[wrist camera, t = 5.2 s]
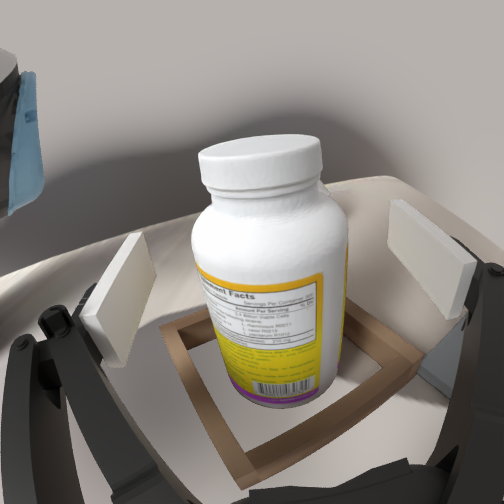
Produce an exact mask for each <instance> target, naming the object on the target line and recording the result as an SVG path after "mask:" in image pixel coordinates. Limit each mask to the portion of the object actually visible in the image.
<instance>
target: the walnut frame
mask: <svg viewBox="0 0 504 504" xmlns="http://www.w3.org/2000/svg"><path fill="white" fill-rule="evenodd" d="M159 328H160V330H161V333H162V335H163V338H164V340H165V343H166V345H167V348H168V350H169V352H170V355H171V357H172V360H173V362H174V364H175V366H176V369H177V371H178V373H179V376H180V378H181V380H182V382H183V384H184V386H185V389H186V391H187V393H188V395H189V397H190V399H191V401H192V403H193V405H194V407H195V409H196V411H197V413H198V415H199V417H200V419H201V421H202V423H203V425H204V427H205V429H206V431H207V433H208V435H209V437H210V439H211V440H212V442H213V444H214V446H215V448H216V450H217V451H218V453H219V455H220V457H221V458H222V460H223V462H224V464H225V465H226V467H227V469H228V470H229V472H230V474H231V475H232V477H233V479H234V480H235V482H236V483H237V485H238V486H239V487H240V489H241V490H244V489H246V488H248V487H251V486H253V485H255V484H257V483H259V482H261V481H263V480H265V479H267V478H269V477H271V476H273V475H275V474H277V473H279V472H281V471H282V470H284V469H286V468H288V467H290V466H292V465H293V464H295V463H297V462H299V461H300V460H302V459H304V458H306V457H307V456H309V455H311V454H312V453H314V452H315V451H317V450H319V449H320V448H322V447H323V446H325V445H327V444H328V443H330V442H331V441H333V440H334V439H336V438H337V437H339V436H340V435H342V434H343V433H344V432H346V431H347V430H349V429H350V428H352V427H353V426H354V425H356V424H357V423H358V422H360V421H361V420H362V419H364V418H365V417H366V416H368V415H369V414H370V413H372V412H373V411H374V410H376V409H377V408H378V407H379V406H380V405H382V404H383V403H384V402H386V401H387V400H388V399H389V398H390V397H392V396H393V395H394V394H395V393H396V392H398V391H399V390H400V389H401V388H402V387H403V386H405V385H406V384H407V383H408V382H409V381H410V380H411V379H412V378H413V377H415V375H416V373H417V370H418V368H419V366H420V363H421V361H422V358H423V356H424V354H423V353H422V352H421V351H419V350H418V349H416V348H415V347H414V346H412V345H411V344H410V343H408V342H407V341H406V340H404V339H403V338H402V337H400V336H399V335H397V334H396V333H395V332H393V331H392V330H391V329H389V328H388V327H387V326H385V325H384V324H382V323H381V322H380V321H378V320H377V319H376V318H374V317H373V316H371V315H370V314H369V313H367V312H366V311H365V310H363V309H362V308H360V307H359V306H358V305H356V304H355V303H353V302H352V301H351V300H349V299H348V298H346V297H345V311H344V324H343V334H344V335H345V336H346V337H347V338H349V339H350V340H351V341H352V342H353V343H355V344H356V345H357V346H358V347H359V348H361V349H362V350H363V351H364V352H365V353H367V354H368V355H369V356H370V357H371V358H373V359H374V360H375V361H376V362H377V363H379V364H380V365H381V366H382V367H383V368H382V369H381V370H380V371H378V372H377V373H376V374H375V375H373V376H372V377H371V378H369V379H368V380H366V381H365V382H364V383H362V384H361V385H360V386H358V387H357V388H355V389H354V390H353V391H351V392H350V393H348V394H347V395H345V396H344V397H342V398H341V399H339V400H338V401H336V402H335V403H333V404H332V405H330V406H329V407H327V408H325V409H324V410H322V411H321V412H319V413H318V414H316V415H314V416H313V417H311V418H309V419H308V420H306V421H304V422H303V423H301V424H299V425H297V426H296V427H294V428H292V429H290V430H288V431H287V432H285V433H283V434H281V435H280V436H278V437H276V438H274V439H272V440H270V441H268V442H266V443H264V444H263V445H260V446H258V447H256V448H254V449H252V450H250V451H248V452H246V453H244V451H243V450H242V448H241V447H240V445H239V443H238V442H237V440H236V439H235V437H234V436H233V434H232V432H231V430H230V429H229V427H228V425H227V424H226V422H225V420H224V419H223V417H222V415H221V413H220V412H219V410H218V408H217V406H216V405H215V403H214V401H213V399H212V397H211V396H210V394H209V392H208V390H207V388H206V387H205V385H204V383H203V381H202V379H201V377H200V375H199V373H198V372H197V370H196V368H195V366H194V364H193V362H192V360H191V358H190V356H189V354H188V352H187V350H189V349H192V348H194V347H197V346H199V345H201V344H204V343H206V342H208V341H211V340H213V339H216V338H217V337H216V333H215V330H214V326H213V323H212V319H211V317H210V313H209V309H208V308H205V309H203V310H200V311H198V312H195V313H193V314H190V315H188V316H185V317H183V318H180V319H178V320H175V321H173V322H170V323H167V324H165V325H162V326H160V327H159Z"/></svg>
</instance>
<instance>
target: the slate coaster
mask: <svg viewBox="0 0 504 504" xmlns="http://www.w3.org/2000/svg"><path fill="white" fill-rule="evenodd" d="M466 316H467V314H466V315H465V316H464V317H463V318H462V319H461V321H460V322H459V323H458V324H457V325H456V326H455V327H454V328H453V329H452V330H451V331H450V332H449V333H448V334H447V335H446V337H445V338H444V339H443V340H442V341H441V342H440V343H439V344H438V345H437V346H436V347H435V348H434V349H433V350H432V351H430V352H429V353H428V354H427V355H426V356H425V357H424V358H423V359H422V361H421V363H420V366H419V368H418V370H417V373H418V374H419V375H420V376H421V377H423V378H424V379H425V380H426V381H428V382H429V383H430V384H431V385H433V386H434V387H435V388H437V389H438V390H439V391H440V392H442V393H443V394H444V395H445V396H447V397H448V398H449V399H451V395H452V391H453V387H454V383H455V378H456V374H457V369H458V364H459V359H460V354H461V348H462V342H463V335H464V330H463V331H461V329H462V326H463V324H464V321H465V318H466ZM464 329H465V328H464Z"/></svg>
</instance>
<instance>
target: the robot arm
mask: <svg viewBox="0 0 504 504" xmlns="http://www.w3.org/2000/svg"><path fill="white" fill-rule="evenodd" d="M44 183H45V178H44V171H43V164H42V157H41V149H40V141H39V132H38V119H37V103H36V74H35V73H34V72H26V71H25V72H22V73H21V75H19V73H18V66H17V59H16V56H15V55H14V54H12V53H10V52H8V51H6V50H3V49H1V48H0V219H1V218H3V217H4V216H7V215H8V216H10V215H11V214H12V213H13V211H14V210H16V209H18V208H20V207H22V206H24V205H26V204H28V203H29V202H31V201H33V200H35V199H36V198H37V197H38V196H39V195H40V193H41V191H42V190H43V187H44ZM387 246H388V247H389V248H390V250H391V251H392V252H393V253H394V254H395V255H396V257H397V258H398V259H399V260H400V261H401V262H402V264H403V265H404V266H405V267H406V268H407V270H408V271H409V272H410V273H411V275H412V276H413V277H414V278H415V280H416V281H417V282H418V283H419V285H420V286H421V287H422V288H423V290H424V291H425V292H426V293H427V295H428V296H429V297H430V299H431V300H432V301H433V302H434V304H435V305H436V306H437V308H438V309H439V310H440V312H441V313H442V314H443V316H444V317H445V319H446V320H450V319H453V318H456V317H459V316H460V315H461V312H462V309H463V306H464V305H465V306H466V308H467V309H468V313H467V316H466V318H465V321H464V324H463V326H462V329H461V331H463V330H464V335H463V342H462V348H461V354H460V359H459V364H458V369H457V374H456V378H455V383H454V387H453V391H452V395H451V399H450V402H449V406H448V410H447V413H446V416H445V420H444V423H443V426H442V429H441V432H440V436H439V439H438V441H437V444H436V447H435V449H434V451H433V453H432V455H431V456H430V458H429V460H428V461H427V463H426V465H409V463H408V460H407V458H404V459H401V460H398V461H395V462H392V463H389V464H386V465H382V466H379V467H376V468H372V469H370V470H368V471H366V472H365V473H363V474H361V475H359V476H357V477H355V478H353V479H351V480H349V481H347V482H345V483H343V484H341V485H339V486H336V487H333V488H318V487H297V486H285V487H276V488H267V489H254V490H249V497H247V498H244V499H241V500H238V501H236V502H233V503H232V504H504V501H503V496H504V268H503V267H502V266H500V265H498V264H495V263H486V264H485V263H484V262H483V261H482V260H480V259H479V258H478V257H477V256H476V255H475V254H474V253H473V252H472V251H470V250H469V249H468V248H467V247H465V245H464V244H462V243H461V242H460V241H459V240H457V239H455V238H453V237H451V236H449V235H447V234H446V233H445V232H444V231H443V230H441V229H440V228H439V227H438V226H437V225H435V224H434V223H433V222H432V221H430V220H429V219H428V218H427V217H425V216H424V215H423V214H421V213H420V212H419V211H418V210H416V209H415V208H414V207H412V206H411V205H410V204H408V203H407V202H406V201H404V200H403V199H395V200H390V213H389V226H388V238H387ZM155 279H156V273H155V270H154V267H153V263H152V260H151V257H150V254H149V251H148V248H147V244H146V241H145V238H144V234H143V232H137V233H131V234H129V235H128V237H127V238H126V240H125V241H124V243H123V244H122V246H121V247H120V249H119V250H118V252H117V253H116V255H115V257H114V258H113V260H112V261H111V263H110V264H109V266H108V267H107V269H106V271H105V272H104V274H103V275H102V277H101V279H100V280H99V282H98V283H95V284H93V285H92V286H91V287H90V288H89V289H88V290H87V291H86V293H85V294H84V296H83V299H81V301H80V302H79V305H78V306H77V308H76V309H75V311H74V313H73V314H72V316H70V314H69V312H68V311H67V309H66V307H65V306H64V305H55V306H52V307H50V308H48V309H47V310H45V311H44V312H43V313H42V314H41V315H40V317H39V319H38V325H39V326H40V328H41V329H42V331H43V333H44V334H45V336H46V337H47V340H43V341H40V342H37V341H36V340H35V338H34V337H33V336H32V335H31V334H24V335H22V336H19V337H18V338H17V339H16V340H15V341H14V342H13V344H12V345H11V348H10V353H9V358H8V364H7V371H6V377H5V386H4V394H3V404H2V420H1V474H2V487H3V497H4V504H85V503H84V500H83V496H82V492H81V488H80V484H79V479H78V476H77V471H76V465H75V460H74V455H73V449H72V443H71V437H70V430H69V422H68V414H67V404H66V396H67V399H68V401H69V404H70V407H71V409H72V411H73V414H74V416H75V418H76V421H77V423H78V425H79V428H80V430H81V432H82V434H83V436H84V438H85V441H86V443H87V445H88V447H89V448H90V451H91V453H92V455H93V457H94V459H95V460H96V462H97V464H98V466H99V468H100V469H101V471H102V473H103V475H104V477H105V478H106V480H107V482H108V484H109V485H110V487H111V489H112V491H113V494H112V495H111V500H112V502H113V504H202V503H201V502H200V501H199V500H198V499H197V498H196V497H195V496H193V494H191V492H190V491H189V490H188V489H187V488H186V487H185V486H184V485H183V483H182V482H181V481H180V480H179V479H178V478H177V476H176V475H175V474H174V473H173V472H172V470H171V469H170V468H169V467H168V466H167V465H166V463H165V462H164V461H163V459H162V458H161V457H160V455H159V454H158V453H157V452H156V450H155V449H154V448H153V447H152V445H151V444H150V442H149V441H148V439H147V438H146V437H145V435H144V434H143V433H142V431H141V430H140V428H139V427H138V425H137V424H136V422H135V421H134V420H133V418H132V416H131V415H130V413H129V412H128V411H127V409H126V407H125V406H124V404H123V403H122V401H121V399H120V398H119V396H118V395H117V393H116V391H115V390H114V388H113V386H112V385H111V383H110V381H109V379H108V378H107V376H106V374H105V372H104V371H103V369H102V368H101V366H100V364H101V361H102V358H103V359H104V360H105V362H106V364H107V365H108V367H112V368H114V367H116V368H119V367H120V368H125V366H126V363H127V359H128V356H129V353H130V350H131V347H132V344H133V341H134V338H135V335H136V332H137V329H138V326H139V323H140V320H141V317H142V314H143V311H144V309H145V306H146V303H147V300H148V297H149V295H150V292H151V289H152V287H153V284H154V281H155ZM464 328H465V329H464Z"/></svg>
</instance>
